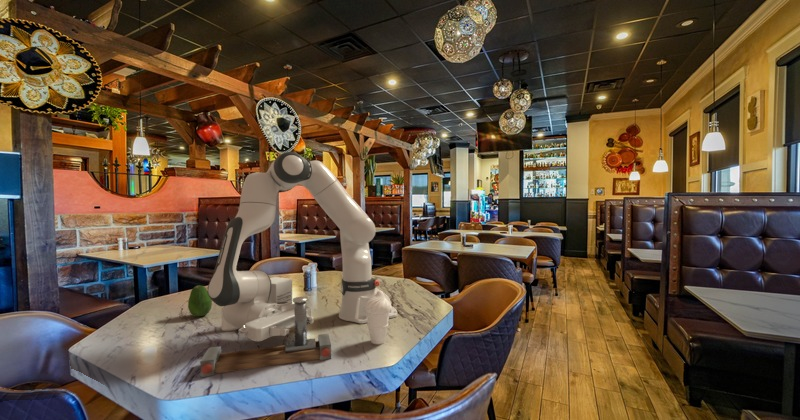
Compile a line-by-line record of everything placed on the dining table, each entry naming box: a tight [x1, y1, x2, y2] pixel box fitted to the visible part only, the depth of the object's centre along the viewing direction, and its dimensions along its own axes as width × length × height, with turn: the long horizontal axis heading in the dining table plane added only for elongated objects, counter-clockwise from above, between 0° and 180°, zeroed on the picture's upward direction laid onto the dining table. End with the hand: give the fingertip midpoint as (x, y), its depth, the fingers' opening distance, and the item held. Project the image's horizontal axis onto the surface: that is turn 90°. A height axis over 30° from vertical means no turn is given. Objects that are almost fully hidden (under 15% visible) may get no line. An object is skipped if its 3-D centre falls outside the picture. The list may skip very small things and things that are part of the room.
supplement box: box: [268, 276, 293, 304], centre depth 122 cm, size 9×9×15 cm
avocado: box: [187, 284, 213, 317], centre depth 127 cm, size 8×8×12 cm
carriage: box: [285, 296, 316, 353], centre depth 92 cm, size 8×4×15 cm, turn 107°
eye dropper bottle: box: [221, 306, 240, 332], centre depth 113 cm, size 4×6×12 cm
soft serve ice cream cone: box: [364, 290, 392, 345], centre depth 102 cm, size 8×8×16 cm
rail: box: [199, 333, 332, 378], centre depth 90 cm, size 32×8×4 cm, turn 107°
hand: (300, 326), depth 93 cm, fingers open, 8 cm apart
